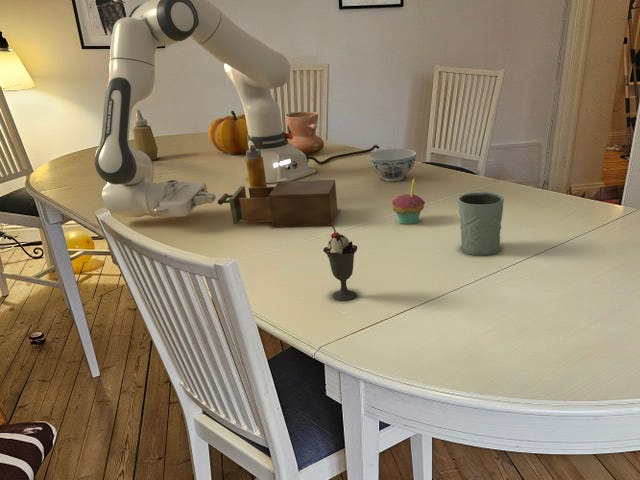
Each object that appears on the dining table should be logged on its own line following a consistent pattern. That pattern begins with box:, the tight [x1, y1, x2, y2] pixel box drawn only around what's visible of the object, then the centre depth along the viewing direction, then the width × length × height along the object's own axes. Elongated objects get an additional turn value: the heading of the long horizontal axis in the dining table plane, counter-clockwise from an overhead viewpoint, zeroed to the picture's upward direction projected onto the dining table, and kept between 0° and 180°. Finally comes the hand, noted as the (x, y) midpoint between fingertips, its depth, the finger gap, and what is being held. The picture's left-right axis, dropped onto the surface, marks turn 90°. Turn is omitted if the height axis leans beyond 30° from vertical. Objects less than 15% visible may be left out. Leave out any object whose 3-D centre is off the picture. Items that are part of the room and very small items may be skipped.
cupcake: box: [391, 175, 426, 225], centre depth 167 cm, size 9×8×12 cm
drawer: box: [217, 185, 275, 225], centre depth 175 cm, size 19×12×7 cm, turn 87°
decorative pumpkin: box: [207, 110, 249, 155], centre depth 250 cm, size 20×22×15 cm
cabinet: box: [269, 179, 338, 228], centre depth 174 cm, size 16×14×9 cm
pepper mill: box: [245, 145, 268, 187], centre depth 183 cm, size 5×5×17 cm
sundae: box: [322, 223, 358, 302], centre depth 127 cm, size 7×7×15 cm
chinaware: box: [368, 148, 417, 182], centre depth 206 cm, size 15×15×8 cm
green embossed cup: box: [457, 191, 505, 257], centre depth 147 cm, size 10×10×12 cm
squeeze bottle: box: [132, 109, 159, 161], centre depth 244 cm, size 8×8×18 cm
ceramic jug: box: [284, 111, 325, 156], centre depth 242 cm, size 18×14×14 cm
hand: (214, 198), depth 175 cm, fingers closed
